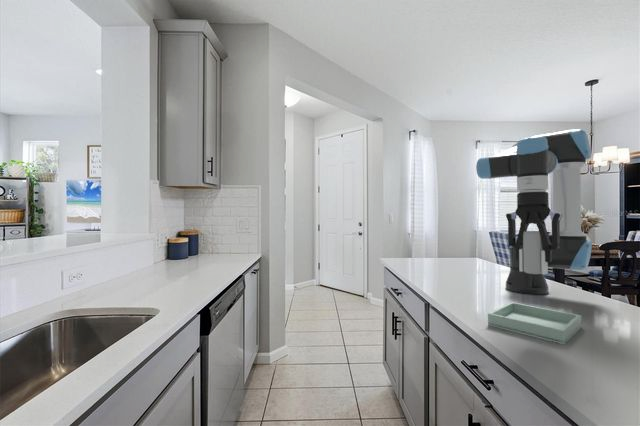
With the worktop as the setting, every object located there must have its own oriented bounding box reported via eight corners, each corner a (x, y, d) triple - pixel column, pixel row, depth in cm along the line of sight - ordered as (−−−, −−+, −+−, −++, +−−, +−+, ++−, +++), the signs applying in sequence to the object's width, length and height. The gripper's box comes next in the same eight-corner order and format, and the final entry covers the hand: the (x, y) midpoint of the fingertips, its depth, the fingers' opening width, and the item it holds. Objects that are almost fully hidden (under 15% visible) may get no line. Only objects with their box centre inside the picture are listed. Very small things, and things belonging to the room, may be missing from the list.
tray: (511, 312, 103) (511, 302, 103) (581, 327, 89) (581, 315, 89) (488, 325, 92) (487, 313, 92) (564, 344, 78) (563, 330, 78)
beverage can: (546, 274, 88) (546, 232, 88) (527, 274, 88) (527, 231, 89) (538, 271, 92) (538, 231, 92) (520, 271, 93) (520, 231, 93)
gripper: (494, 193, 95) (495, 269, 95) (567, 189, 81) (568, 278, 81) (503, 193, 100) (504, 266, 100) (574, 190, 86) (575, 274, 86)
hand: (533, 271), depth 90 cm, fingers closed on beverage can, 5 cm apart
